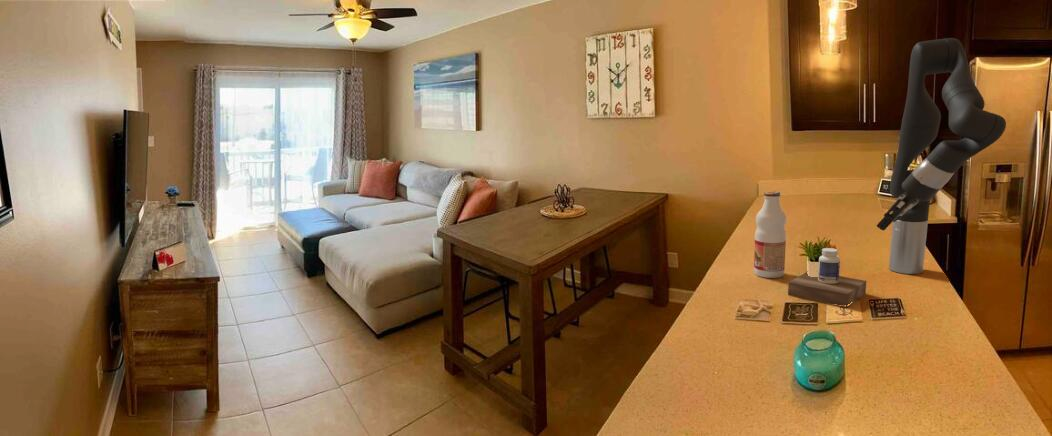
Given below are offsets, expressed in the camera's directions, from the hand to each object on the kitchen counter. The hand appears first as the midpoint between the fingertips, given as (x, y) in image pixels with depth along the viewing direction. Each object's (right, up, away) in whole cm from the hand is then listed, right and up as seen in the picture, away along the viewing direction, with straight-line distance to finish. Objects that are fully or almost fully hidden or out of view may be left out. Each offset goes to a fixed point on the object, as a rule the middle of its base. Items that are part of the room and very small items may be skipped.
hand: (885, 223), depth 149 cm
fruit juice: (-18, -18, +32) cm, 40 cm away
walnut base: (-10, -21, +11) cm, 26 cm away
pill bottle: (-10, -17, +10) cm, 23 cm away
